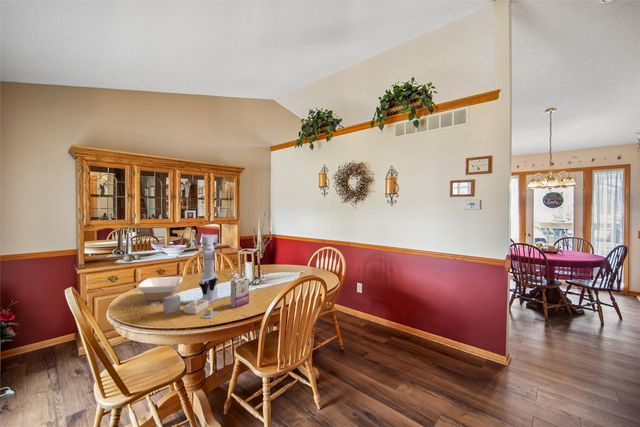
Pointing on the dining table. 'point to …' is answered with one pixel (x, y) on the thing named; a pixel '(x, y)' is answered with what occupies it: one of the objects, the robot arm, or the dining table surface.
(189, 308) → the box
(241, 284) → the candy bar box
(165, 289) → the bowl
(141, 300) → the dining table surface
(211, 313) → the lid
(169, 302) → the medicine box
